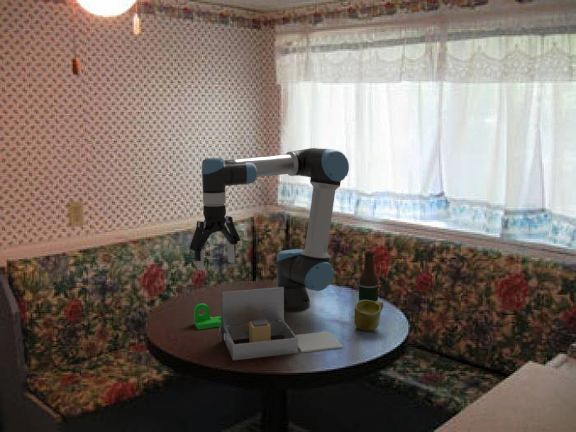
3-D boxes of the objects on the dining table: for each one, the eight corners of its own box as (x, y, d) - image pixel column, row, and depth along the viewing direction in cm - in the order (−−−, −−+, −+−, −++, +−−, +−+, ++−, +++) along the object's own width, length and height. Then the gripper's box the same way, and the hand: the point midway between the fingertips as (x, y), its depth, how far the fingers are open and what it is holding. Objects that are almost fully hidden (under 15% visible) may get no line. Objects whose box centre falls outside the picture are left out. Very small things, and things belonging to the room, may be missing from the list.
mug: (364, 336, 202) (364, 308, 200) (347, 326, 211) (348, 300, 209) (392, 330, 208) (392, 303, 206) (375, 321, 216) (375, 295, 215)
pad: (328, 332, 205) (328, 331, 205) (342, 348, 192) (342, 346, 192) (290, 337, 201) (290, 335, 201) (301, 352, 188) (301, 351, 188)
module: (266, 342, 197) (266, 318, 196) (270, 348, 191) (270, 324, 190) (249, 344, 196) (248, 319, 194) (253, 350, 190) (252, 326, 188)
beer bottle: (355, 312, 226) (356, 253, 222) (360, 306, 233) (362, 248, 229) (375, 315, 223) (376, 254, 219) (379, 308, 230) (381, 250, 226)
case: (283, 332, 205) (283, 286, 203) (297, 352, 188) (297, 302, 185) (219, 339, 199) (217, 292, 197) (228, 361, 182) (226, 309, 179)
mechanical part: (197, 330, 209) (197, 309, 208) (194, 324, 215) (193, 304, 213) (229, 325, 213) (229, 304, 212) (225, 320, 219) (224, 300, 217)
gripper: (234, 199, 205) (236, 257, 208) (177, 208, 187) (179, 271, 190) (249, 201, 200) (250, 260, 203) (191, 210, 182) (193, 275, 185)
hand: (216, 266), depth 197 cm, fingers open, 13 cm apart
